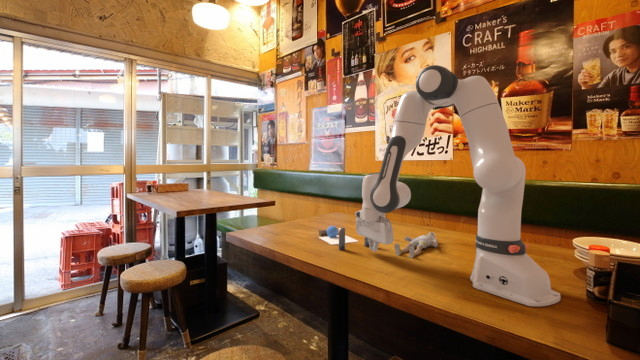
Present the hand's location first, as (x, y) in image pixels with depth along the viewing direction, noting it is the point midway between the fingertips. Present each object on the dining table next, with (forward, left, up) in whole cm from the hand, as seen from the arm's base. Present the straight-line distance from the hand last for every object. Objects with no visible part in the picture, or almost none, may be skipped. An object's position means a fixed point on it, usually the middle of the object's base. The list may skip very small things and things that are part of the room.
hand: (373, 250), depth 118 cm
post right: (+14, -6, -2) cm, 15 cm away
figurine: (+1, -24, -3) cm, 25 cm away
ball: (+34, +1, 0) cm, 34 cm away
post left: (+14, +7, -2) cm, 15 cm away
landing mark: (+29, 0, -2) cm, 29 cm away
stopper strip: (+40, 0, -2) cm, 40 cm away
